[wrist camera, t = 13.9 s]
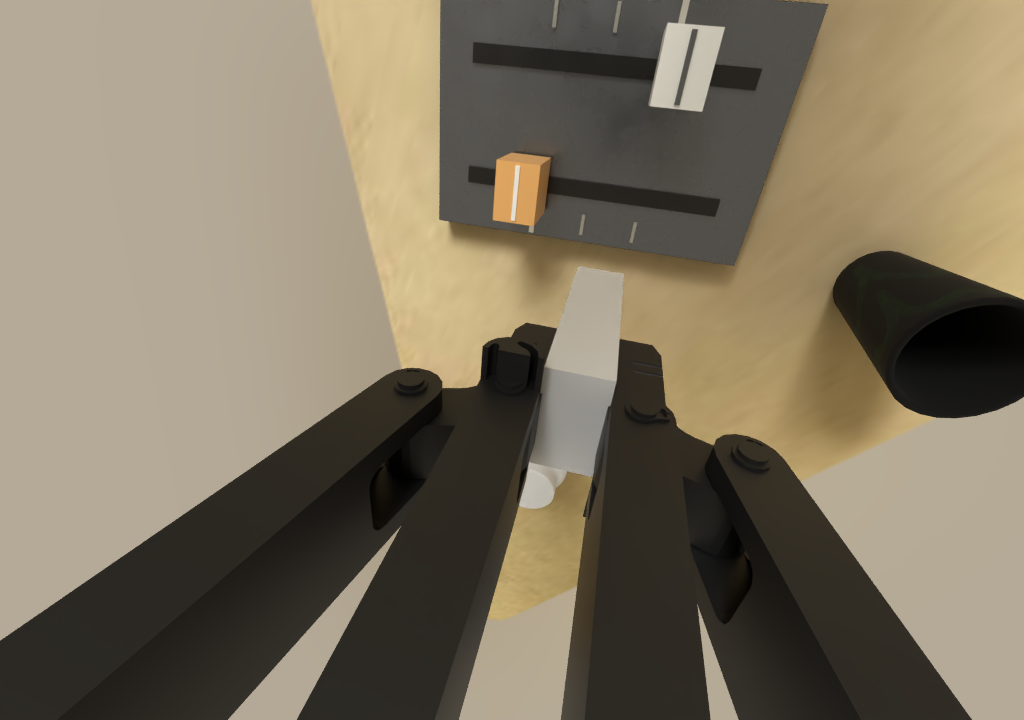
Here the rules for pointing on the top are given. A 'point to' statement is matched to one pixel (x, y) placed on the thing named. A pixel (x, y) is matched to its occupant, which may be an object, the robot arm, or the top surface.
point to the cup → (935, 334)
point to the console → (617, 116)
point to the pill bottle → (540, 485)
